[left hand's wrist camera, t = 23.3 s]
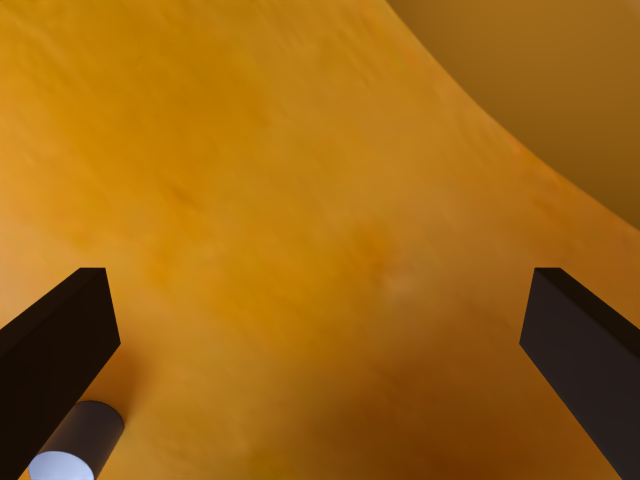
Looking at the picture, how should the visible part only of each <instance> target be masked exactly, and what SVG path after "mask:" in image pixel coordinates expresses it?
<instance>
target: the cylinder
mask: <svg viewBox="0 0 640 480" xmlns="http://www.w3.org/2000/svg"><path fill="white" fill-rule="evenodd" d="M123 428H124V427H123V421H122V419H121V417H120V415H119V414H118V413H117V412H116V411H115V410H114V409H113V408H111V407H110V406H108V405H106V404H103V403H100V402H96V401H84V402H80V403H77V404H75V405H74V406H73V407H72V409H71V410H70V411H69V413H68V414H67V415H66V417H65V418H64V419H63V421H62V422H61V423H60V425H59V426H58V427H57V428H56V430H55V431H54V432H53V434H52V435H51V436H50V438H49V439H48V440H47V442H46V443H45V444H44V446H43V447H42V448H41V450H40V451H39V452H38V453H37V455H36V456H35V457H34V459H33V460H32V461H31V463H30V464H29V467H28V471H29V475H30V477H31V479H32V480H96V479H97V478H98V476H99V474H100V472H101V470H102V469H103V467H104V465H105V463H106V462H107V460H108V458H109V456H110V454H111V453H112V451H113V449H114V447H115V445H116V444H117V442H118V440H119V438H120V436H121V435H122V432H123Z"/></svg>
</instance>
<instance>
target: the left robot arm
mask: <svg viewBox="0 0 640 480" xmlns="http://www.w3.org/2000/svg"><path fill="white" fill-rule="evenodd" d="M120 344H121V342H120V337H119V333H118V328H117V323H116V318H115V313H114V308H113V303H112V298H111V294H110V289H109V284H108V279H107V274H106V269H105V268H79V269H78V270H76V271H75V272H74V273H73V274H71V275H70V276H69V277H67V278H66V279H65V280H64V281H62V282H61V283H60V284H58V285H57V286H56V287H55V288H53V289H52V290H51V291H49V292H48V293H47V294H46V295H44V296H43V297H42V298H40V299H39V300H38V301H37V302H35V303H34V304H33V305H31V306H30V307H29V308H28V309H26V310H25V311H24V312H22V313H21V314H20V315H19V316H17V317H16V318H15V319H13V320H12V321H11V322H9V323H8V324H7V325H6V326H4V327H3V328H2V329H0V480H18V479H19V477H20V476H21V475H22V473H23V472H24V471H25V469H26V468H27V467H28V465H29V464H30V463H31V461H32V460H33V459H34V457H35V456H36V455H37V453H38V452H39V451H40V450H41V448H42V447H43V446H44V444H45V443H46V442H47V440H48V439H49V438H50V436H51V435H52V434H53V432H54V431H55V430H56V428H57V427H58V426H59V425H60V423H61V422H62V421H63V419H64V418H65V417H66V415H67V414H68V413H69V411H70V410H71V409H72V407H73V406H74V405H75V403H76V402H77V401H78V400H79V398H80V397H81V396H82V394H83V393H84V392H85V390H86V389H87V388H88V386H89V385H90V384H91V382H92V381H93V380H94V378H95V377H96V376H97V374H98V373H99V372H100V371H101V369H102V368H103V367H104V365H105V364H106V363H107V361H108V360H109V359H110V357H111V356H112V355H113V353H114V352H115V351H116V349H117V348H118V347H119V346H120ZM519 344H520V346H521V347H522V348H523V349H524V351H525V352H526V353H527V355H528V356H529V357H530V359H531V360H532V361H533V363H534V364H535V365H536V367H537V368H538V369H539V371H540V372H541V373H542V374H543V376H544V377H545V378H546V380H547V381H548V382H549V384H550V385H551V386H552V388H553V389H554V390H555V392H556V393H557V394H558V396H559V397H560V398H561V400H562V401H563V402H564V403H565V405H566V406H567V407H568V409H569V410H570V411H571V413H572V414H573V415H574V417H575V418H576V419H577V421H578V422H579V423H580V425H581V426H582V427H583V428H584V430H585V431H586V432H587V434H588V435H589V436H590V438H591V439H592V440H593V442H594V443H595V444H596V446H597V447H598V448H599V450H600V451H601V452H602V453H603V455H604V456H605V457H606V459H607V460H608V461H609V463H610V464H611V465H612V467H613V468H614V469H615V471H616V472H617V473H618V475H619V476H620V477H621V479H622V480H640V329H638V328H637V327H636V326H634V325H633V324H632V323H631V322H629V321H628V320H627V319H625V318H624V317H623V316H621V315H620V314H619V313H618V312H616V311H615V310H614V309H612V308H611V307H610V306H609V305H607V304H606V303H605V302H603V301H602V300H601V299H600V298H598V297H597V296H596V295H594V294H593V293H592V292H591V291H589V290H588V289H587V288H585V287H584V286H583V285H582V284H580V283H579V282H578V281H576V280H575V279H574V278H573V277H571V276H570V275H569V274H567V273H566V272H565V271H564V270H562V269H561V268H535V269H534V274H533V279H532V284H531V289H530V294H529V298H528V303H527V308H526V313H525V318H524V323H523V328H522V333H521V337H520V342H519Z"/></svg>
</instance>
